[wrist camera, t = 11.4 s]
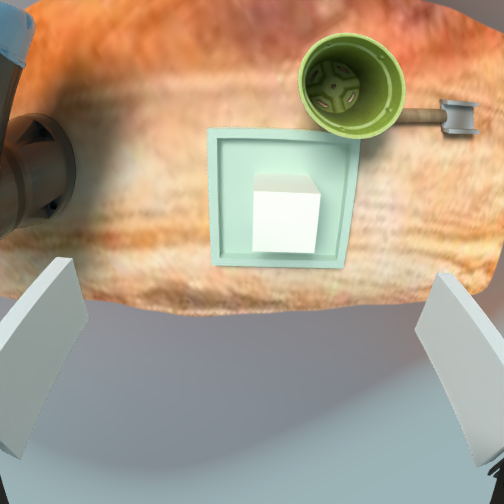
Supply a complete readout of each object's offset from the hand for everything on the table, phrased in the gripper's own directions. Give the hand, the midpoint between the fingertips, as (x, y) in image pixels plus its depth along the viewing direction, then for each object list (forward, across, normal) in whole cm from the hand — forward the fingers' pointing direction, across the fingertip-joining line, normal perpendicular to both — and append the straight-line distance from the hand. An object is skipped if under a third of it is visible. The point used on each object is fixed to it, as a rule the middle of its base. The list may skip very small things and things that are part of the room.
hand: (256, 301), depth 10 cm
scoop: (+26, +21, +7) cm, 34 cm away
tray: (+26, +3, -5) cm, 27 cm away
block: (+25, +3, -5) cm, 26 cm away
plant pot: (+26, +8, +8) cm, 29 cm away
